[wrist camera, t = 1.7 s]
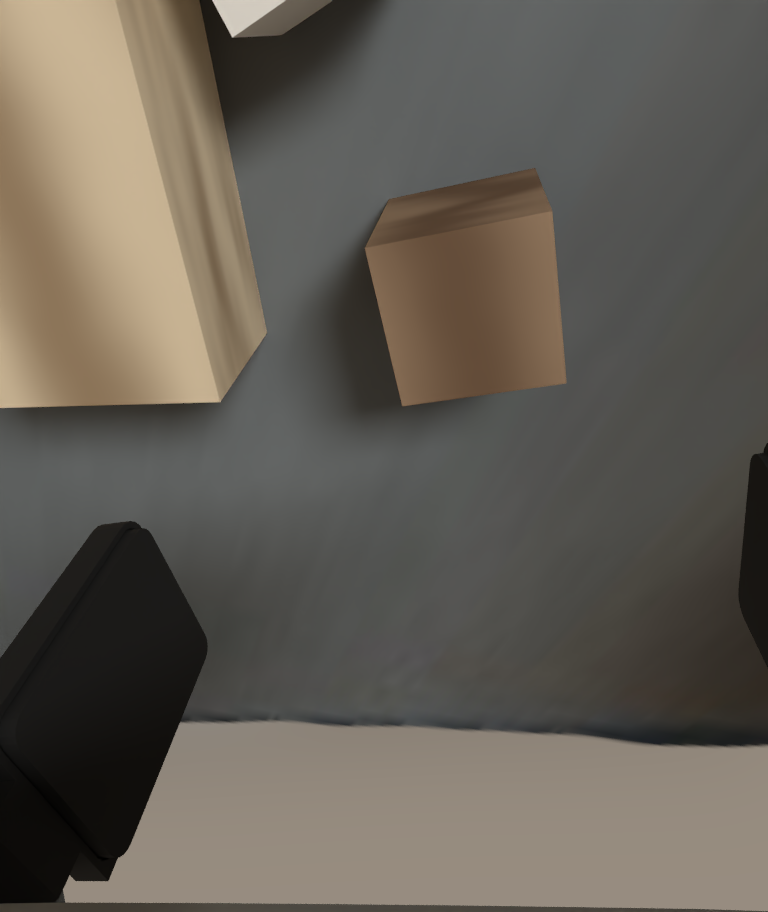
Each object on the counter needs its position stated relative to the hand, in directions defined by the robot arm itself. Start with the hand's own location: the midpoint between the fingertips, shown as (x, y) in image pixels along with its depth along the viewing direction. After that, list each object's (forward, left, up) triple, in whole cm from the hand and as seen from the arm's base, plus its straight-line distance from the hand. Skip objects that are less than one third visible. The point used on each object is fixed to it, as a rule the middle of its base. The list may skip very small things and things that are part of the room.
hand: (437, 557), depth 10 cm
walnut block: (0, 0, -16) cm, 16 cm away
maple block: (+12, -6, -16) cm, 21 cm away
